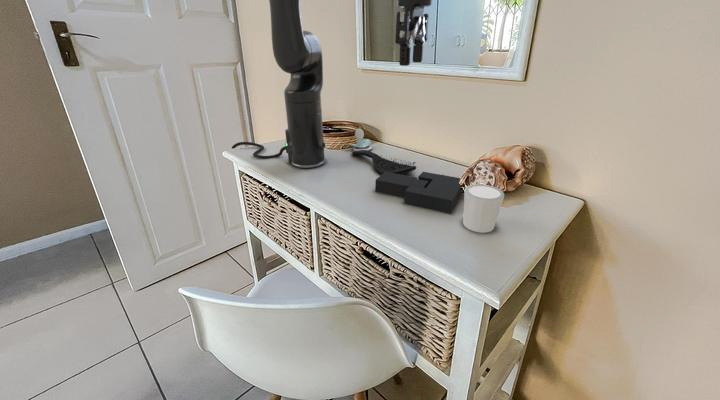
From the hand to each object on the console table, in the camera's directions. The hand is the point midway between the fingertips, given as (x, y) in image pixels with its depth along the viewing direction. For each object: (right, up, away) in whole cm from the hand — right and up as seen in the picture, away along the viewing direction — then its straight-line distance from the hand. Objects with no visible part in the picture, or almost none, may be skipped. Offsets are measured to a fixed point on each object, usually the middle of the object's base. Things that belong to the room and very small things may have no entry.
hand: (411, 63), depth 77 cm
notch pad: (+5, -31, -3) cm, 32 cm away
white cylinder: (+11, -37, -14) cm, 41 cm away
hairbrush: (-7, -22, +14) cm, 27 cm away
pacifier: (-11, -16, +27) cm, 33 cm away
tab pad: (-2, -30, -1) cm, 30 cm away
